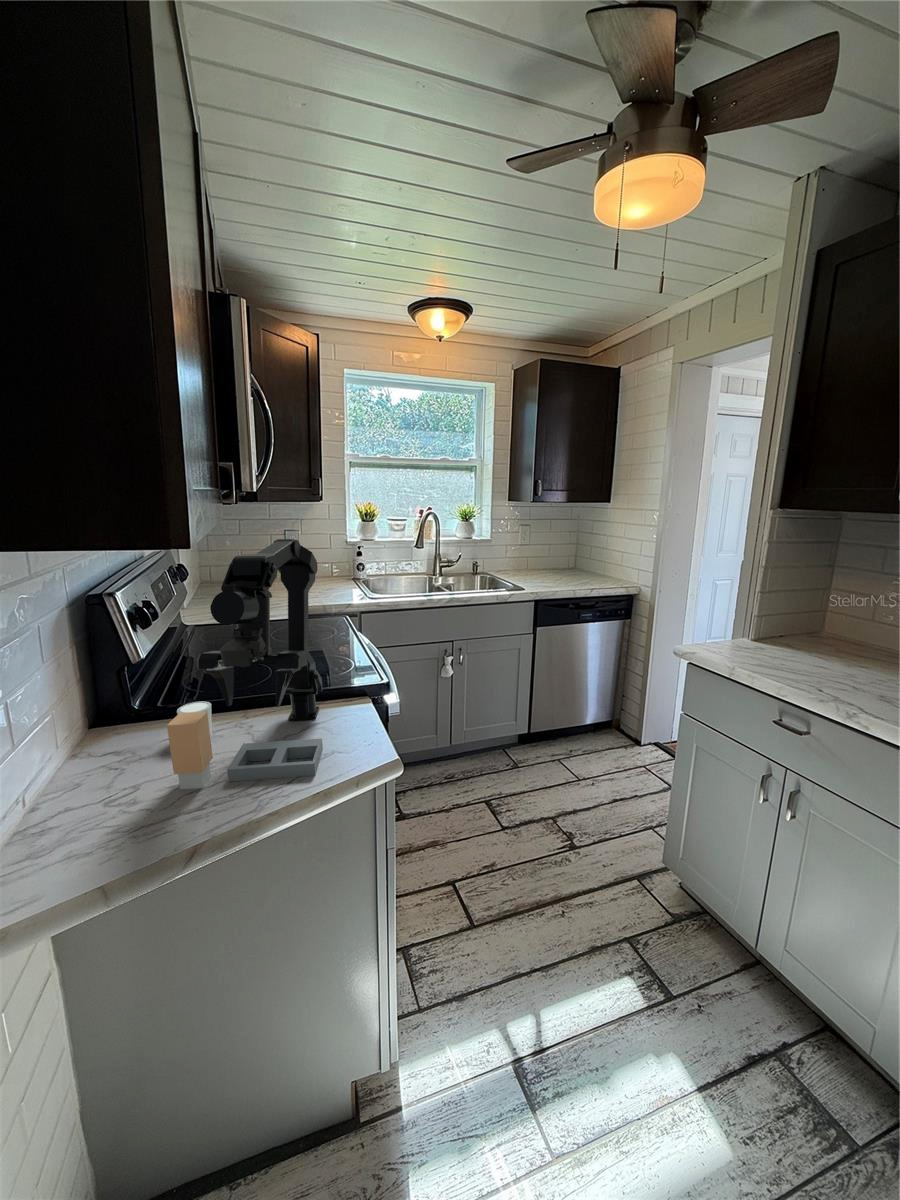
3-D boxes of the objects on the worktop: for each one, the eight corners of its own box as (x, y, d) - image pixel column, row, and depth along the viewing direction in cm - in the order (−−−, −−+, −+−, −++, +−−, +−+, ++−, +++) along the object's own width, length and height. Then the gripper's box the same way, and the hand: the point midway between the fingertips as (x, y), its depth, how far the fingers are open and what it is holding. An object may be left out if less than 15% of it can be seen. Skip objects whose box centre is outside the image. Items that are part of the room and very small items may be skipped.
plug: (187, 776, 93) (179, 713, 90) (214, 774, 94) (207, 711, 91) (176, 791, 88) (166, 725, 86) (204, 789, 89) (196, 723, 86)
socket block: (244, 754, 101) (243, 743, 100) (322, 749, 102) (322, 738, 102) (228, 781, 91) (227, 769, 91) (315, 775, 93) (314, 763, 92)
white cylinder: (200, 744, 105) (196, 714, 104) (173, 742, 106) (169, 712, 105) (221, 730, 112) (218, 702, 110) (195, 727, 113) (191, 699, 112)
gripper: (179, 624, 83) (179, 716, 83) (287, 624, 82) (287, 716, 82) (212, 621, 94) (213, 702, 94) (308, 621, 93) (308, 702, 93)
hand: (253, 705), depth 91 cm, fingers open, 9 cm apart
